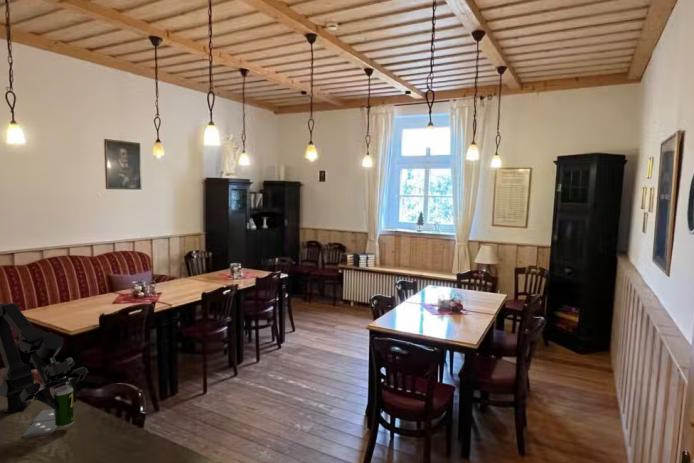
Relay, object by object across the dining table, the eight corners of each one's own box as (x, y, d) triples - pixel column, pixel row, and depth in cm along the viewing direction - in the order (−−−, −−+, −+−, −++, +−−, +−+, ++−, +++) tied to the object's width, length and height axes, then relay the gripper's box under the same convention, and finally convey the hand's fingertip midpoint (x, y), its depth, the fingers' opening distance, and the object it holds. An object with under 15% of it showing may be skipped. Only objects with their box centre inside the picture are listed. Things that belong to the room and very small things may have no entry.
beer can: (55, 430, 136) (53, 393, 135) (55, 422, 140) (53, 387, 139) (74, 425, 139) (73, 389, 138) (74, 417, 143) (73, 383, 142)
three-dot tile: (33, 424, 143) (33, 422, 143) (60, 421, 145) (60, 419, 145) (22, 437, 135) (22, 435, 135) (51, 434, 137) (51, 431, 137)
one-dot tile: (42, 412, 151) (42, 410, 151) (68, 409, 153) (68, 407, 153) (32, 424, 143) (32, 421, 143) (59, 420, 145) (59, 418, 145)
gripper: (22, 362, 131) (43, 405, 127) (83, 343, 147) (104, 381, 143) (10, 381, 135) (31, 423, 131) (71, 361, 152) (91, 398, 148)
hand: (66, 405), depth 138 cm, fingers closed on beer can, 5 cm apart
